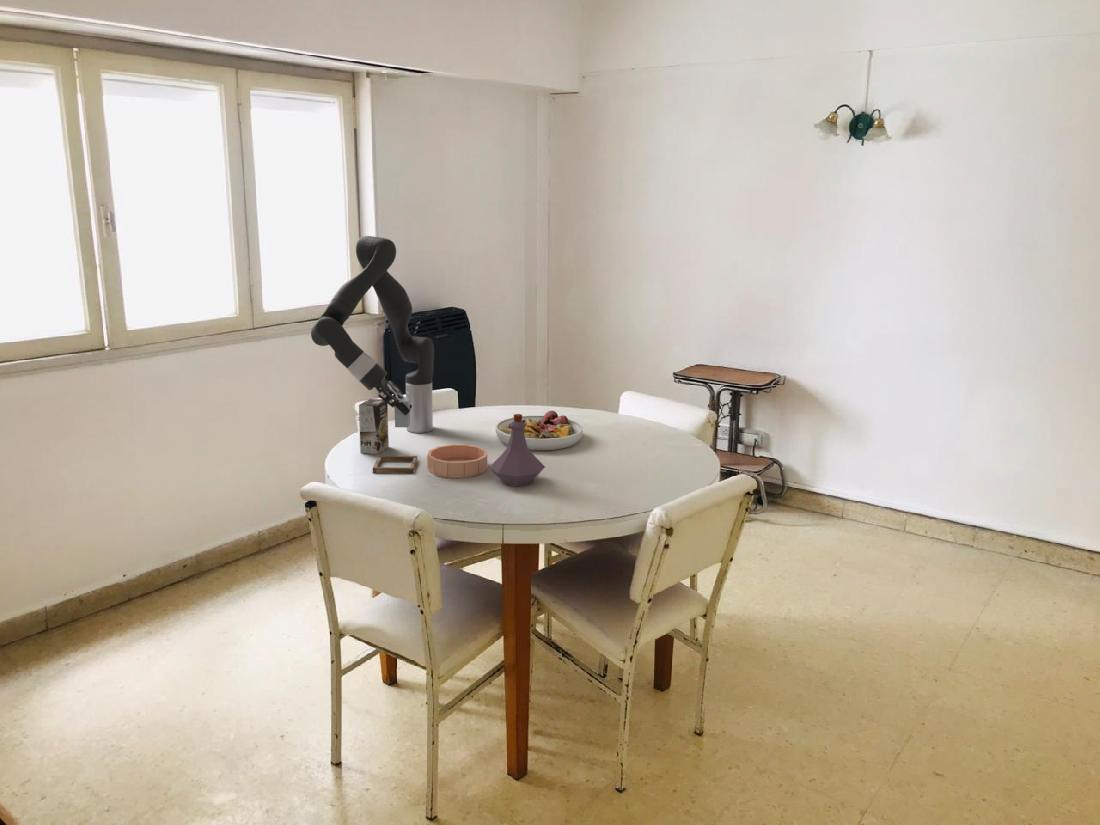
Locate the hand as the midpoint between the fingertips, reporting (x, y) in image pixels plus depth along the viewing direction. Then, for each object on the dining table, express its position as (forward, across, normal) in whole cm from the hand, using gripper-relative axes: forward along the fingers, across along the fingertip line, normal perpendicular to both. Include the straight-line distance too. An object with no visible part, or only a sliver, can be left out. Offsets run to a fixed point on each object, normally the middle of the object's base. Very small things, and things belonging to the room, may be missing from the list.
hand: (408, 410), depth 241 cm
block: (+2, 0, +5) cm, 5 cm away
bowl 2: (+42, +30, -15) cm, 54 cm away
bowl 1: (+23, -1, +2) cm, 23 cm away
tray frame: (+9, 0, +16) cm, 18 cm away
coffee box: (+3, +17, +22) cm, 28 cm away
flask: (+36, -12, -10) cm, 39 cm away
